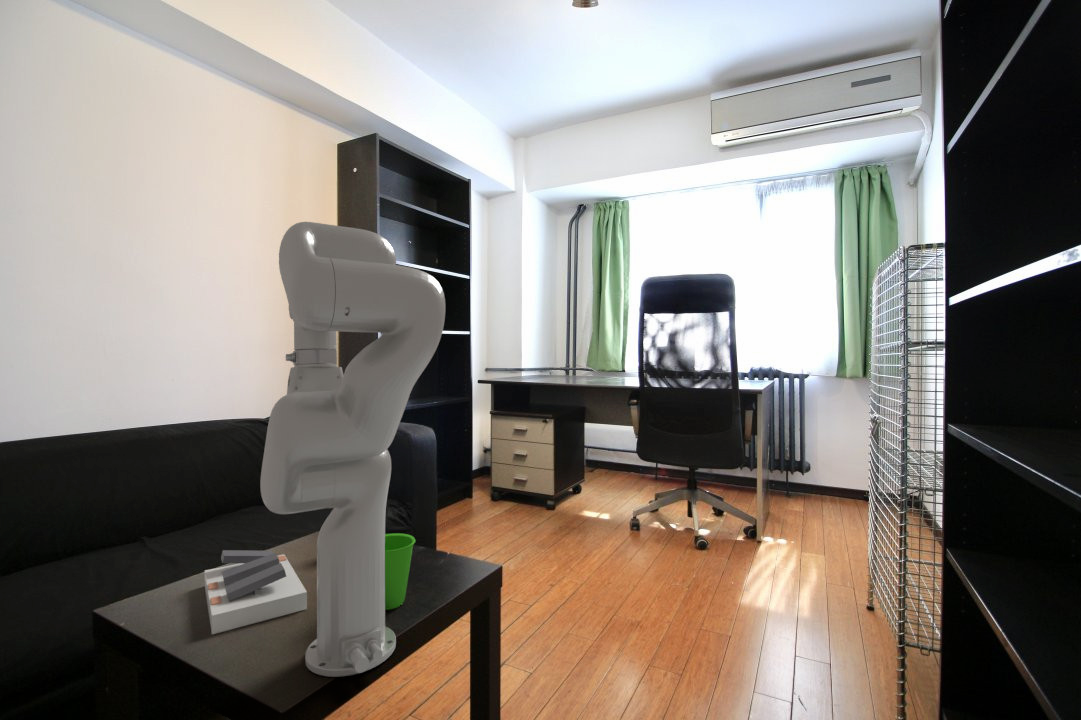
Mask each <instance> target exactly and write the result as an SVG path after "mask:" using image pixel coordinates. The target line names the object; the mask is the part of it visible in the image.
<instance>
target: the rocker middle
mask: <svg viewBox="0 0 1081 720" xmlns="http://www.w3.org/2000/svg"><path fill="white" fill-rule="evenodd" d="M277 564H279V558H278V555H277V553H276V552H274V553H273V554H270V555H267V556H265V557H262V558H259V559H256V560H253V561H251V562H248V563H245V564H242V565H240V566H237V567H234V568H231V569H228V570H226V571H223V572H222V575H223V580H224V584H225V586H226V585H229V584H231V583H234V582H237V581H239V580H242V579H244V578H246V577H249V576H251V575H254V574H256V573H258V572H261V571H263V570H265V569H268V568H270V567H272V566H275V565H277Z"/></svg>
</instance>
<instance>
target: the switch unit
mask: <svg viewBox="0 0 1081 720" xmlns="http://www.w3.org/2000/svg"><path fill="white" fill-rule="evenodd" d="M277 556H278V558H279V563H281V564H282V566H283V568H284V570H285V573H286V577H284V578H282V579H279V580H277V581H275V582H273V583H270V584H268V585H266V586H264V587H261V588H259V589H257V590H255V591H252V592H250V593H248V594H246V595H243V596H241V597H239V598H237V599H234V600H232V601H230V602H229V601H228V597H227V594H226V590H225V584H224V580H223V575H222V572H223V571H226V570H228V569H231V568H234V567H237V566H240V565H242V564H245V563H233V564H229V565H226V566H221V567H216V568H211V569H205V570H204V590H205V591H204V592H205V598H206V604H207V610H208V611H207V613H208V617H209V624H210V630H211V631H210V632H211V635H215V634H219V633H222V632H227V631H231V630H234V629H237V628H242V627H245V626H250V625H252V624H256V623H260V622H264V621H267V620H271V619H275V618H278V617H283V616H286V615H290V614H293V613H294V614H295V613H297V612H301V611H305V610H308V592H307V590H306V588H305V586H304V585H303V583H302V582H301V581H302V580H300V578H299V577H298V575H297V572H296V571H295V569H294V568H293V566H292V564H291V562H289V560H288V557H286V554H285V553H284V554H279V555H277ZM234 583H235V582H234ZM231 584H232V583H231ZM229 585H230V584H229ZM226 586H228V585H226Z"/></svg>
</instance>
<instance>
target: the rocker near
mask: <svg viewBox="0 0 1081 720" xmlns="http://www.w3.org/2000/svg"><path fill="white" fill-rule="evenodd" d="M284 577H286V573H285V570H284V568H283V566H282V564H281V563H279V564H277V565H275V566H272V567H270V568H268V569H265V570H263V571H261V572H258V573H256V574H254V575H251V576H249V577H246V578H244V579H242V580H239V581H237V582H235V583H232V584H230V585H228V586H225V590H226V594H227V597H228V601H229V602H230V601H232V600H234V599H237V598H239V597H241V596H243V595H246V594H248V593H250V592H252V591H255V590H257V589H259V588H261V587H264V586H266V585H268V584H270V583H273V582H275V581H277V580H279V579H282V578H284Z"/></svg>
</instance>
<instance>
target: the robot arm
mask: <svg viewBox="0 0 1081 720" xmlns="http://www.w3.org/2000/svg"><path fill="white" fill-rule="evenodd" d="M278 266H279V267H278V269H279V273H280V274H279V275H280V278H281V281H282V284H283V287H284V291H285V294H286V300H287V303H288V313H289V318H290V319H291V320H292V322H293V350H292V351H293V352H292V353H291V352H290V353H286V354H285V361H286V362H291V363H293V365H294V367H290V369H289V375H288V379H287V387H286V388H287V389H286V390H287V391H286V394H285V395H284V396H282V397H280V398H279V399H278V400H277V401H276V402H275V404H274V405H273V407H272V409H271V412H270V415H269V418H268V419H269V420H268V425H267V430H266V437H265V443H264V452H263V458H262V463H261V472H260V481H259V482H260V483H259V484H260V486H259V487H260V496H261V499H262V502H263V504H264V505H265V507H266V508H267V509H268V510H269V511H270V512H272V513H273V514H278V515H289V514H290V515H291V514H297V513H304V512H310V511H311V512H312V511H317V510H323V509H332V510H331V511H330V514H328V516H327V518H325V520H324V522H323V524H322V526H321V528H320V530H319V532H318V535H317V538H316V539H317V540H316V639H314V640H313V641H312V642H311V643H310V644H309V645H308V647H307V648H306V650H305V657H304V660H305V666H306V668H307V669H308V670H309V671H311V672H312V673H314V674H317V675H318V676H324V677H333V678H335V677H336V678H338V677H339V678H340V677H348V676H354V675H358V674H361V673H364V672H367V671H369V670H372V669H373V668H376V667H377V666H379V665H381V664H383V662H385V661H387V659H388V658H390V656H392V654H393V652H395V649H396V646H397V645H396V644H397V638H396V634H395V632H394V631H393V630H392V629H391V628H389V627H387V626H386V610H385V534H386V514H387V513H386V512H387V511H386V510H387V509H386V508H387V502H388V500H387V499H388V494H389V487H390V482H391V475H392V457H391V454H390V451H389V450H388V449H389V447H390V446H391V445H392V443H393V441H394V439H395V436H396V435H397V431H398V429H399V426H400V423H401V420H402V418H403V415H404V412H405V410H406V408H407V407H406V406H407V403H408V401H409V398H410V396H411V395H410V394H411V392H412V391H413V388H414V386H415V384H416V383H417V381H418V379H419V378H420V376H421V375H422V373H423V372H424V371H425V369H426V368H427V366H428V365H429V363H430V362H431V360H432V358H433V356H434V355H435V353H436V351H437V348H438V346H439V343H440V341H441V338H442V334H443V330H444V328H445V327H444V326H445V319H446V298H445V292H444V290H443V287H442V286H441V284H440V282H439V281H438V280H437V279H436V278H435V277H434V276H433V275H431V274H429V273H427V272H425V271H422V270H421V269H416V268H413V267H409V266H404V265H398V264H397V257H396V252H395V250H394V248H393V246H392V244H391V243H390V242H389V241H388V240H387V239H386V238H385V237H383V236H382V235H380V234H378V233H376V232H373V231H370V230H367V229H363V228H356V227H347V226H340V225H335V224H329V223H328V224H327V223H322V222H312V221H301V222H296V223H294V224H293V225H291V226H290V227H289V228H288V229H287V230H286V231H285V232H284V235H283V236H282V239H281V241H280V245H279V251H278ZM337 332H343V333H345V332H346V333H349V332H350V333H379V334H381V333H382V334H381V336H379V337H378V338H377V339H375V340H374V341H372V342H371V343H369V344H368V345H366V346H365V347H363V349H361V351H359V352H358V353H357V354H356V355H355V356H354V357H353V358H352V359H351V360H350V362H349V363H348V364H347V366H346V368H345V370H344V372H343V367H342V366H338V351H337V350H338V349H337V348H338V347H337V346H338V344H337V340H338V339H337Z"/></svg>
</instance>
